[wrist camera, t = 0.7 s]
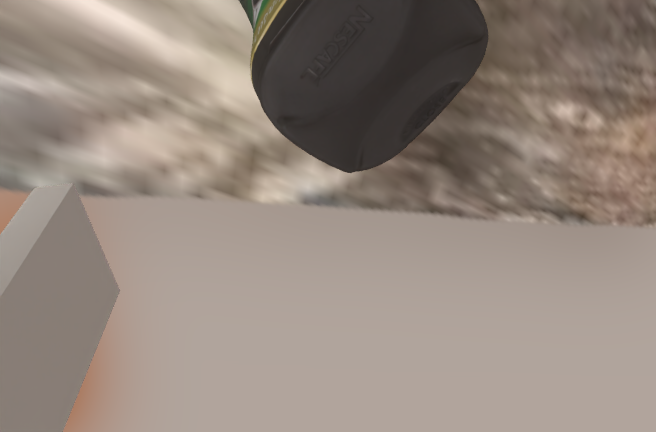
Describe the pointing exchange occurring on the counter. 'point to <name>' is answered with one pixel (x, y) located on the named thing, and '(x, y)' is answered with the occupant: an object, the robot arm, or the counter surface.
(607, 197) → the counter surface
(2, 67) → the counter surface
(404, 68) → the coffee jar
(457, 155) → the counter surface
